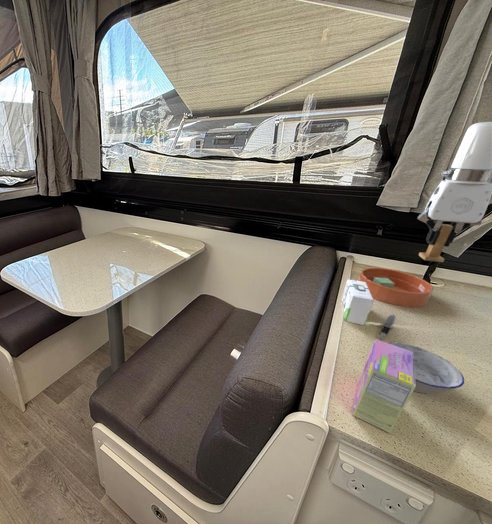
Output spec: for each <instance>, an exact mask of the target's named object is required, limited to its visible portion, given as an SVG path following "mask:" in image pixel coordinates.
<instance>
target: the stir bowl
mask: <svg viewBox="0 0 492 524" xmlns="http://www.w3.org/2000/svg"><path fill="white" fill-rule="evenodd" d="M374 277H377V278H388V279H389V280H391V281H392V282H393V283H395V285H394V287H393V289H391V288H388V287H385V286H382V285H379V284H377V283H374V282H373V280H374ZM357 281H362V282H366V284H367V286H368V289H369V291H370V293H371V295H372V298H373V300H374V299H375V300H377V301H380V302H383V303H386V304H389V305H394V306H399V307H403V308H404V307H406V308H421V307H425V306H426V305H427V304H428V303H429V300H430V298H431V296H432V294H433V292H434V286H433V285H432V284H431V283H430V282H428V281H426V280H425V279H423V278H420V277H418V276H416V275H413V274H410V273H407V272H404V271H401V270H396V269H390V268H383V267H367V268H363V269H362V270H361V271H360V273H359V275H358V278H357Z"/></svg>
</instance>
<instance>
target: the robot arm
mask: <svg viewBox="0 0 492 524" xmlns="http://www.w3.org/2000/svg"><path fill="white" fill-rule="evenodd" d="M440 177H444V179H443V180H441V181H440V182H439V184H438V185H437V186H436V188H435V190H434V191H433V192H432V194H431V196H430V198H429V200H428V202H427V203H426V205H425V208H424V211H423V212H422V213H420V214H419V215H418V216H417V218H416V219H417V220H418V221H420V222H422V223H425V224H426V226H427V227H428V229H429V231H428V233H427V235H426V237H425V241H426V243H427V244H430V245H435V243H436V241H437V239H438V237H439V235H440V231H439V229H440V227H441V225H442V224H444V223H443V222H451V223H450V225H451V226H453V228H452V230H451V233H450V235H449V237H448V239H447V241H446V243H445V245H444V247H450V244H452V243H453V242H454V240H455V238H456V235H457V234H459V233H461V232H462V231H463V230H466V229H468V228H469V227H477V226H480V225H482V219H483V217H484V216H485V214H486V211H487V210H488V206H489V203H490V201H491V198H492V182H491V181H492V121H481V122H476V123H473V124H471V125H469V127H468V128H467V130H466V132H465V134H464V136H463V137H462V141H461V143H460V145H459V147H458V150H457V152H456V154H455V157H454V159H453V161H452V164H451V166H450V167H449V168H448V170H442V171H441V173H440Z"/></svg>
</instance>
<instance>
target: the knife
mask: <svg viewBox="0 0 492 524" xmlns="http://www.w3.org/2000/svg"><path fill="white" fill-rule="evenodd" d="M394 321H395V314H390V315H388V316H387V318H386V320H385V322H384V324H377V325H376V328H379V327H380V328H382V329H381V331H380V335H379V334H378V335H377V338H379V339H381V340H385V339H386V338H387V336H388V334H389V332H390V331H391V330H392V326H393V323H394Z"/></svg>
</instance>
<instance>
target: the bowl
mask: <svg viewBox="0 0 492 524" xmlns="http://www.w3.org/2000/svg"><path fill="white" fill-rule="evenodd" d="M387 343H388V344H391V345H394V346H397V347H400V348H403V349H406V350H409V351H412V352H413V356H414V371H415V384H416V387H415V389H414V390H413V392H417V393H421V394H427V395H431V394H436V393H440V392H444V391H448V390H454V389H458V388H460V387H463V385H464V384H465V377H464V375H463V373H462V372H461V371H460V370H459V369H458V368H457V367H456V366H455V365H454V364H452V363H451V361H449V360H447V359H444V358H443V357H442V356H440V355H438V354H436V353H434V352H431V351H429V350H426V349H425V348H422V347H419V346H415V345H412V344H410V343H404V342H397V341H392V342H387Z"/></svg>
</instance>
